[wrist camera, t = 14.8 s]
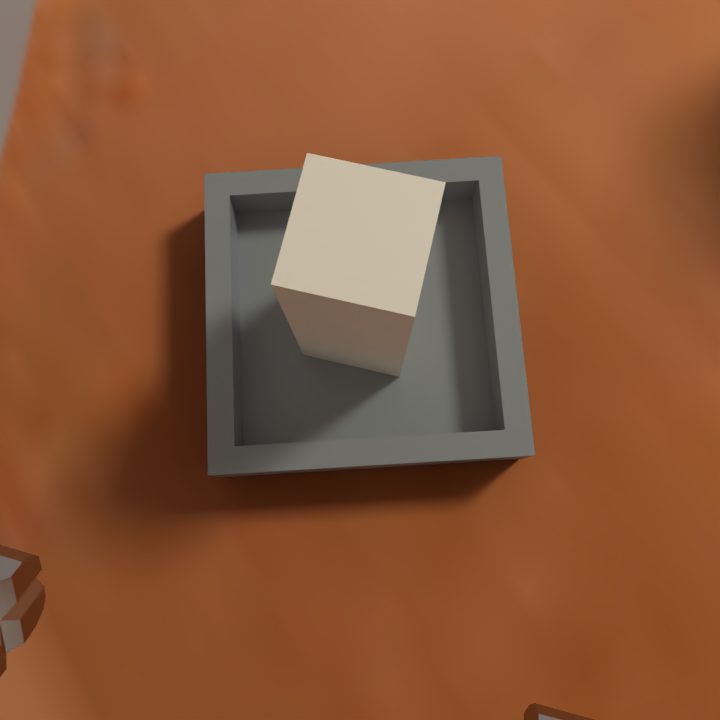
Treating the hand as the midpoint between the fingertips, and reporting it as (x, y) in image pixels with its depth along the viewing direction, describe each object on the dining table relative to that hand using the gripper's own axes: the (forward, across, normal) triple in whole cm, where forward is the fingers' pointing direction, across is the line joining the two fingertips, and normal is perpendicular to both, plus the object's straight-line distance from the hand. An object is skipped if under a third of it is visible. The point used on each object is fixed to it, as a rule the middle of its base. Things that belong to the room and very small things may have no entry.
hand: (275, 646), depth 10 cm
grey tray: (+18, +1, +4) cm, 18 cm away
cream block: (+17, +1, +4) cm, 18 cm away
